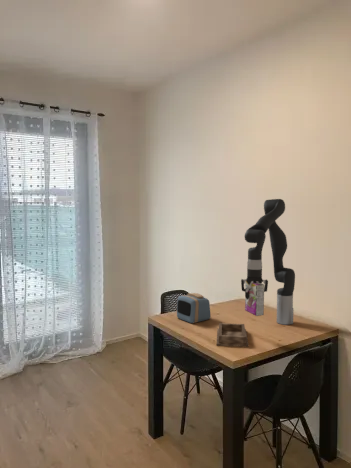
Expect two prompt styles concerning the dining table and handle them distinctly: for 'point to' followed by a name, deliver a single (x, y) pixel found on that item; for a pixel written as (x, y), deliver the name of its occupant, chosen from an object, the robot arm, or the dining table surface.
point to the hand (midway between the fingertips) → (254, 299)
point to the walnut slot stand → (232, 335)
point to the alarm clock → (193, 308)
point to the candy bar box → (255, 299)
